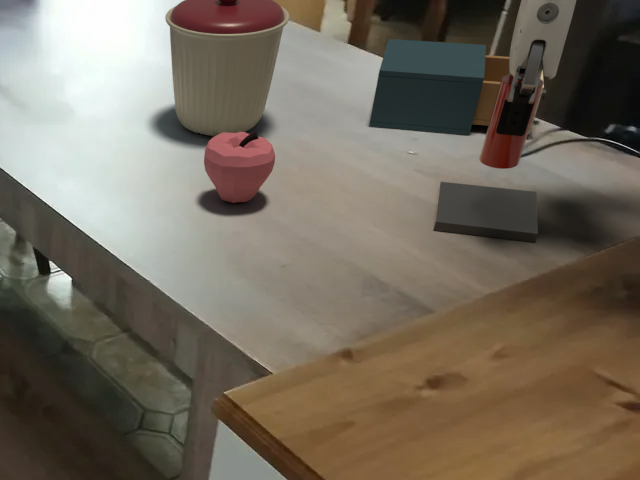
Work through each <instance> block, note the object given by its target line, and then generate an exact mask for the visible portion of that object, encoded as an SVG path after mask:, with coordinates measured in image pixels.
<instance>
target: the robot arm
mask: <svg viewBox="0 0 640 480" xmlns="http://www.w3.org/2000/svg"><path fill="white" fill-rule="evenodd" d="M576 3H577V0H521V1H520V4H519V8H518V12H517V16H516V20H515V24H514V28H513V33H512V37H511V43H510V49H509V57H510V60H509V69H510V73H509V75H513V81H512V84H511V88H510V92H509V96H508V99H505V101H504V104H503V108H502V111H501V115H500V118H499V121H498V125H497V128H496V133H497V134H503V135H514V136H523V135H524V134H525V132H526V129H527V126H528V122H529V119H530V116H531V113H532V109H533V106H534V98H535V95H536V91H537V88H538V84H539V80H540V78H541V73H542V70H543V77H545V78H546V77H547V79H548V80H552V79H554V78H555V77H556V75H557V72H558V69H559V65H560V62H561V57H562V54H563V51H564V46H565V43H566V40H567V36H568V33H569V29H570V26H571V23H572V19H573V15H574V12H575V8H576ZM518 80H523V81H522V84H518V86H517V83H518Z"/></svg>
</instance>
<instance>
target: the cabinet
mask: <svg viewBox="0 0 640 480" xmlns="http://www.w3.org/2000/svg"><path fill="white" fill-rule="evenodd" d="M486 55H487V44H476V43H475V44H474V43H462V42H461V43H459V42H447V41H446V42H442V41H428V40H413V39H412V40H411V39H397V38H396V39H395V38H394V39H393V38H388V40H387V43H386V47H385V50H384V54H383V57H382V61H381V63H380V67H379V71H378V75H377V81H376V88H375V91H374V92H375V93H374V97H373V103H372V108H371V112H370V119H369V124H368V127H372V128H373V127H375V128H384V129H394V130H395V129H396V130H404V131H405V130H406V131H415V132H427V133H428V132H429V133H439V134H449V135H450V134H451V135H459V136H470V133H471V129H472V126H473V124H472V122H473V119H474V115H475V111H476V107H477V103H478V100H479V96H480V92H481V88H482V84H483V81H484V73H485V57H486Z"/></svg>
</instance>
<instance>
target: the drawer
mask: <svg viewBox="0 0 640 480" xmlns="http://www.w3.org/2000/svg"><path fill="white" fill-rule="evenodd" d="M509 60H510V56H501V55H488V54H486V57H485V73H484V81H483V84H482V88H481V92H480V96H479V100H478V103H477V107H476V111H475V115H474V119H473V122H472V125H474V126H475V125H476V126H487V127H488V126H489V122H490V118H491V115H492V111H493V108H494V104H495V101H496V97H497V93H498V90H499V86H500V83H501V79H502V78H503V77H504V76H506V75H509V73H510V69H509ZM540 79H541V80H542V81H543V86H542V90H541V93H540V96H539V99H538V103H537V106H536V109H535V112H534V115H533V119H532V122H531V125H530V128H529V132H528V134H530V133H531V131H532V128H533V126H534V121H535V118H536V115H537V111H538V109H539V106H540V102H541V101H544V100H545V98H546V94H547V88H545V85H544V84H545V82H544V81H545V80H544V69H543V70H542V73H541V78H540Z"/></svg>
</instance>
